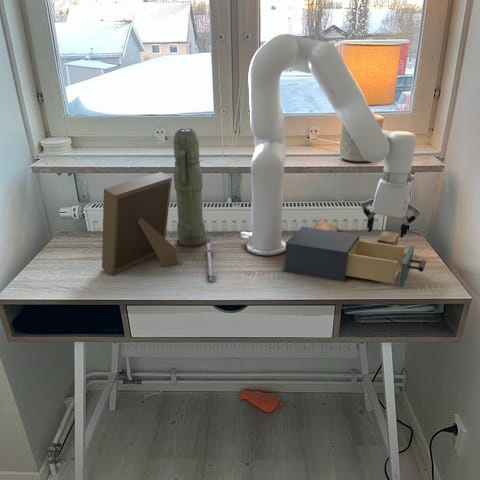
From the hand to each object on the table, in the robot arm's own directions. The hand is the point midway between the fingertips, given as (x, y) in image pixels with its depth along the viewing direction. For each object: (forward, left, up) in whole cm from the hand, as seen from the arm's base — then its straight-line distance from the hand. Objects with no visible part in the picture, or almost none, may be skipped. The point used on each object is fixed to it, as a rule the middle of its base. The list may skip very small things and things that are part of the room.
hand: (385, 233), depth 158 cm
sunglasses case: (-20, +5, -7) cm, 22 cm away
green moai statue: (-60, -15, -7) cm, 62 cm away
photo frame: (-63, -37, -7) cm, 73 cm away
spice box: (+1, 0, -7) cm, 7 cm away
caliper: (-45, -31, -7) cm, 55 cm away
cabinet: (-15, -17, -7) cm, 24 cm away
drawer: (+4, -17, -6) cm, 18 cm away
